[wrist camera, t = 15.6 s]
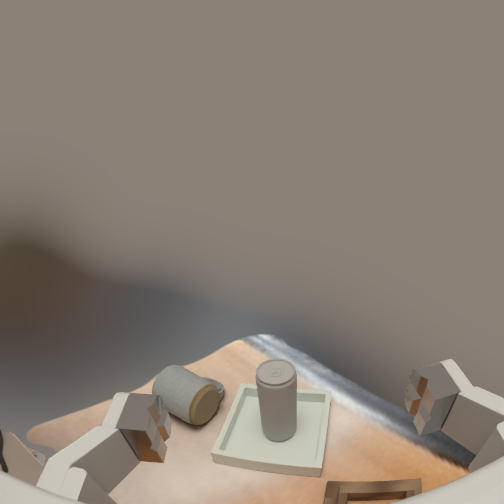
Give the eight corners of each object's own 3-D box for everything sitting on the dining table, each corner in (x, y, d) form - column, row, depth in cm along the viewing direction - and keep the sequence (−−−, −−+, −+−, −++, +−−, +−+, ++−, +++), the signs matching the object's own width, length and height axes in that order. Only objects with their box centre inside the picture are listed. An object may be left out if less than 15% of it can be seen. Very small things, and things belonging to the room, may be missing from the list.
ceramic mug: (197, 437, 39) (186, 403, 36) (158, 415, 43) (145, 380, 41) (237, 394, 47) (232, 359, 45) (199, 379, 52) (191, 345, 49)
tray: (214, 462, 34) (210, 452, 34) (243, 394, 47) (241, 383, 46) (320, 477, 31) (321, 467, 30) (330, 401, 43) (331, 390, 42)
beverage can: (296, 416, 41) (295, 356, 37) (297, 442, 36) (297, 383, 32) (263, 418, 41) (256, 358, 37) (261, 443, 37) (253, 385, 32)
